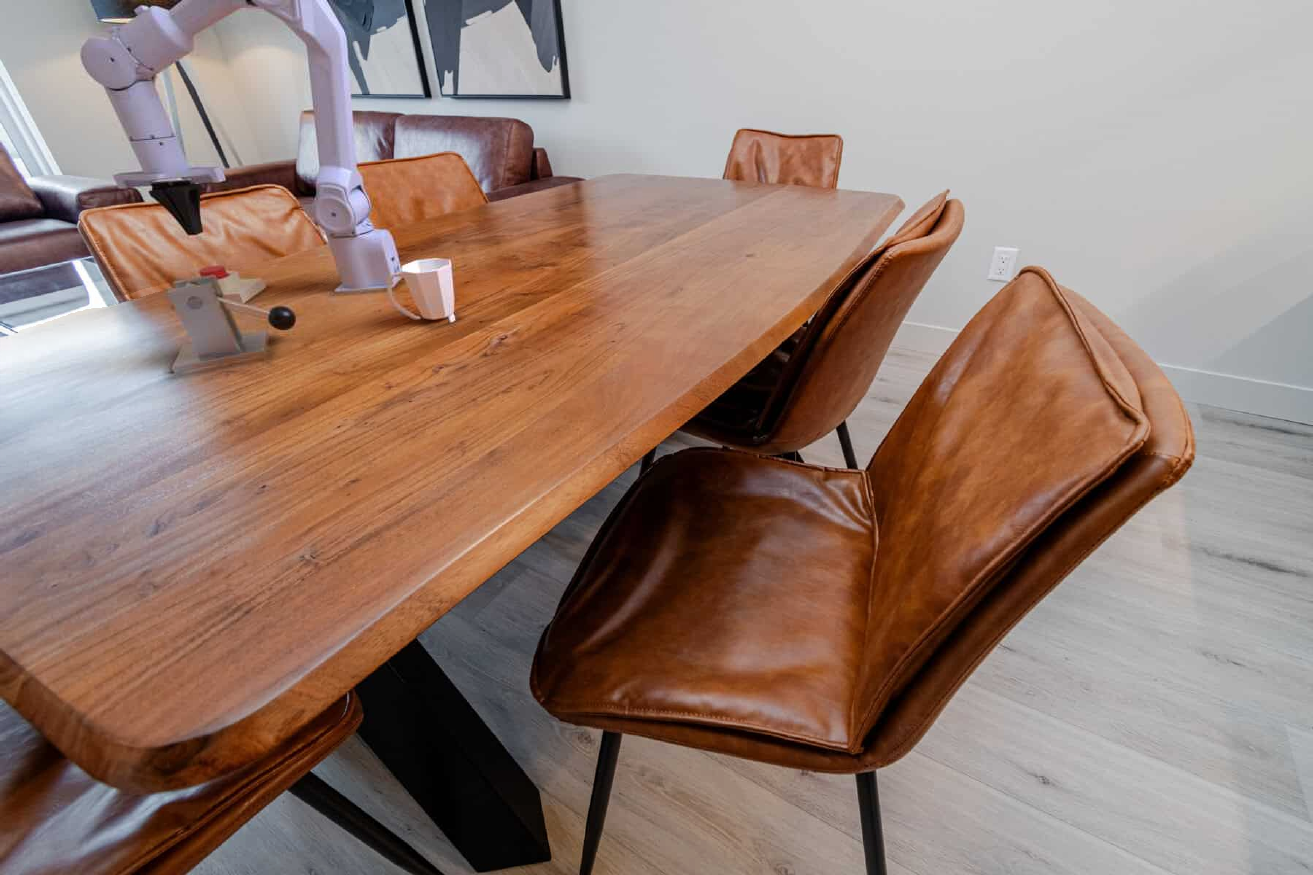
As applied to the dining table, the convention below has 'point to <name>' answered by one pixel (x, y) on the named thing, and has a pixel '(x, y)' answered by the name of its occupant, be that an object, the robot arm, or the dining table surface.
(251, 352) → the bracket
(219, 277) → the button
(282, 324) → the lever
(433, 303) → the cup
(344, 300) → the dining table surface
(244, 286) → the control block
